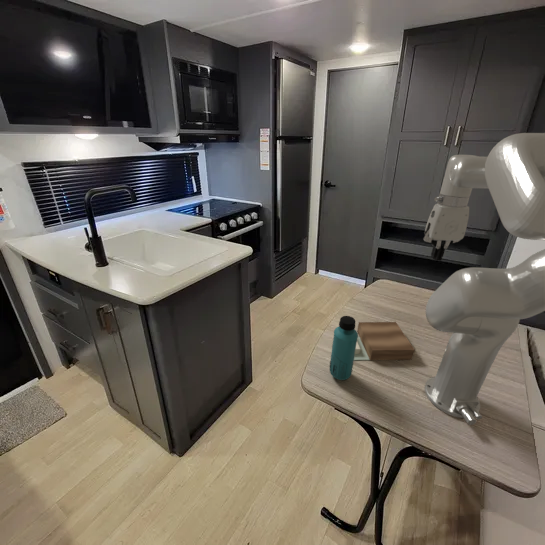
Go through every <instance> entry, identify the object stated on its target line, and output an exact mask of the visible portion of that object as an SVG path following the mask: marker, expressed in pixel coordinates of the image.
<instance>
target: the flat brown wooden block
mask: <svg viewBox="0 0 545 545" xmlns="http://www.w3.org/2000/svg"><path fill="white" fill-rule="evenodd" d="M356 331H357V333H358V336H359V337H360V339H361V342H362V344H363V346H364V348H365V350H366V353H367V355H368V357H369V359H370V360H369V361H411V360H413V357H414V353H415V352H416V351H415V348H414V347H413V345H412V344H411V342H410V341H409V339H408V338H407V337H406V334H405V333H404V332H403V330H402V329H401V328H400V326H399V324H398V323H397V322H396V321H373V322H371V321H370V322H369V321H368V322H367V321H363V322H362V321H361V322H360V321H359V322H358V326H357V330H356Z"/></svg>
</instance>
